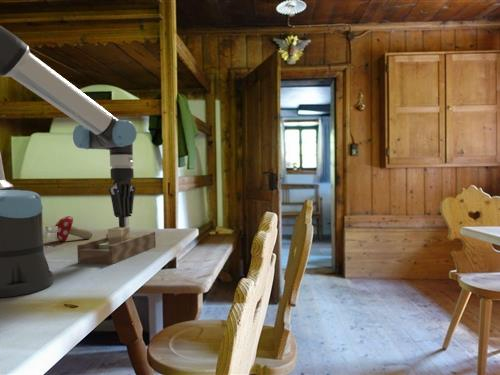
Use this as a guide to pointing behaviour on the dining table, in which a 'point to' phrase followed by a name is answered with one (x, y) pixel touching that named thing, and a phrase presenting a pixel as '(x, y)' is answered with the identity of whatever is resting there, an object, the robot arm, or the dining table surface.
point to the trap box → (114, 249)
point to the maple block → (118, 234)
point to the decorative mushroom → (70, 229)
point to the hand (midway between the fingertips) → (124, 235)
